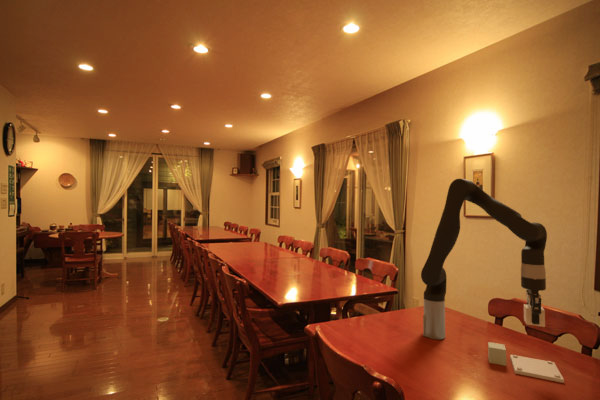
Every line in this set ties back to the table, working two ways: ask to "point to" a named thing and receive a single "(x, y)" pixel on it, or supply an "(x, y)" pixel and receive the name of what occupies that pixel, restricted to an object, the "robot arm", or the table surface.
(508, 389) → the table surface
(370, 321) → the table surface
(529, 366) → the baseplate
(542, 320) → the cream brick
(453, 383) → the table surface
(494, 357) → the sage brick
